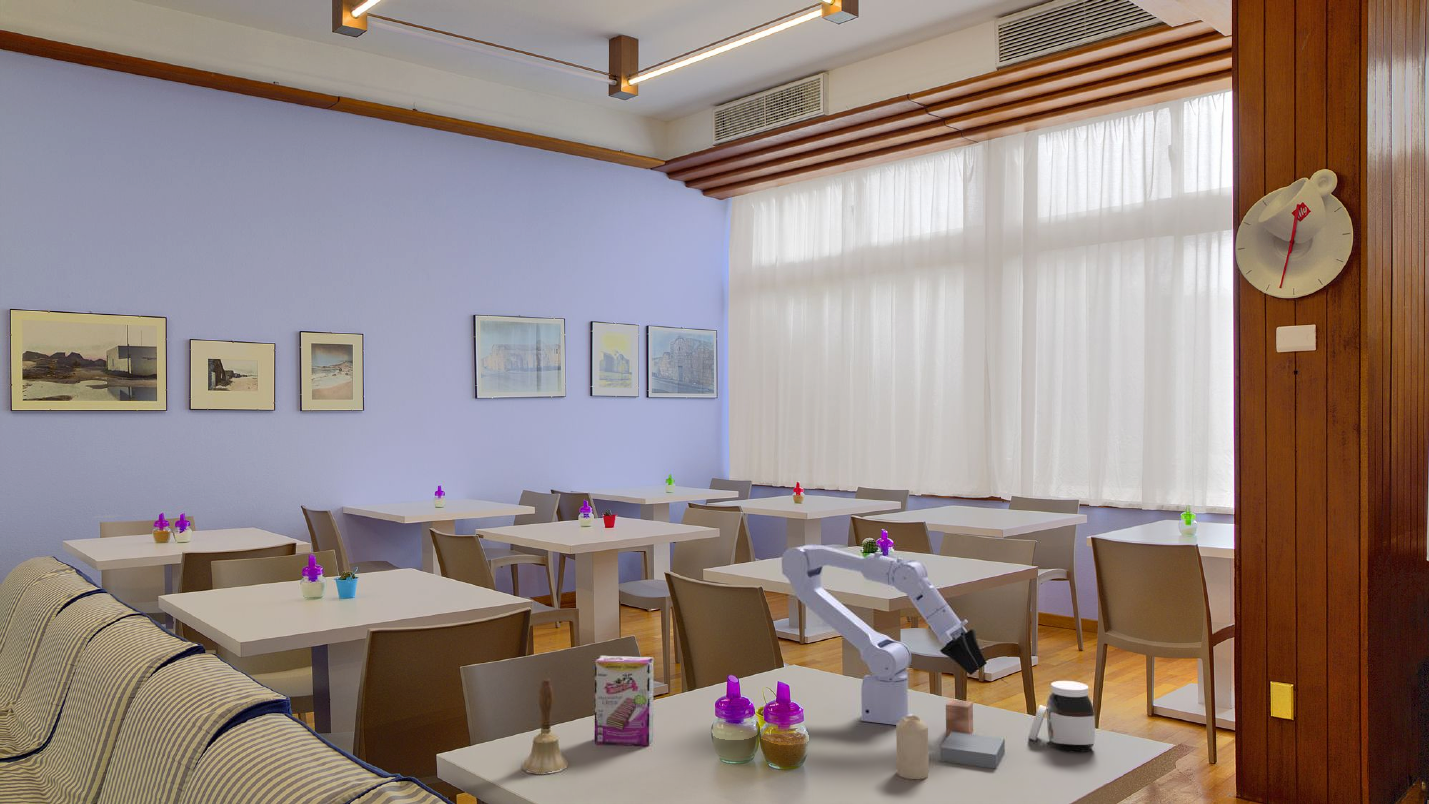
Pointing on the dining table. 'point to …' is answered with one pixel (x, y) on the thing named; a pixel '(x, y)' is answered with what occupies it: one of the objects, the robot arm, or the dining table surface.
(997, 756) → the base
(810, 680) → the dining table surface
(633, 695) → the candy bar box
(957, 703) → the block
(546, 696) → the hand bell
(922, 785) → the dining table surface
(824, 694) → the dining table surface
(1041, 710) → the spread jar
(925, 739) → the candle
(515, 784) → the dining table surface
